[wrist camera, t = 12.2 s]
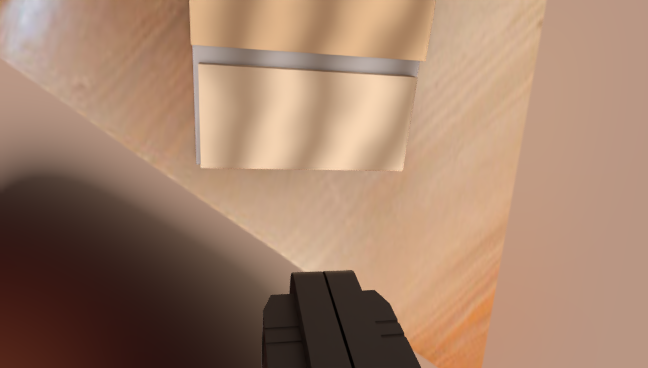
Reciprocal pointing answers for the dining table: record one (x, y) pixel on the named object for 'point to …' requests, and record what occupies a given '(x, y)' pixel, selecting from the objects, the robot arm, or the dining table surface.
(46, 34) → the dining table surface
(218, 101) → the plank
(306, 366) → the robot arm
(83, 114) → the dining table surface
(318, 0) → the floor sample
